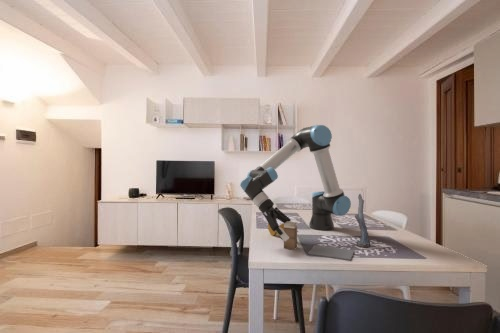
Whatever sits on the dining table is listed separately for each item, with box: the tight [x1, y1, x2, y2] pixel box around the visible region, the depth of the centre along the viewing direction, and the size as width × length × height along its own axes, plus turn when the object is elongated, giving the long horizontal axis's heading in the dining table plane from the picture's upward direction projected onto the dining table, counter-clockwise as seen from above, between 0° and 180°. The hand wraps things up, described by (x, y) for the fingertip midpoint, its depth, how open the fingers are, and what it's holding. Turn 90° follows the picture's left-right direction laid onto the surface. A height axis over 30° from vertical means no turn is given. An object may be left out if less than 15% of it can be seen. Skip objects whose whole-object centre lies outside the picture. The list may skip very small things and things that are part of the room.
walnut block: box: [283, 221, 298, 251], centre depth 133 cm, size 5×5×12 cm
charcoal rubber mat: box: [307, 244, 355, 261], centre depth 126 cm, size 14×18×1 cm
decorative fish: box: [267, 222, 284, 238], centre depth 150 cm, size 22×3×10 cm, turn 30°
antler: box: [354, 193, 372, 248], centre depth 140 cm, size 12×8×25 cm
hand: (292, 236), depth 133 cm, fingers open, 13 cm apart
